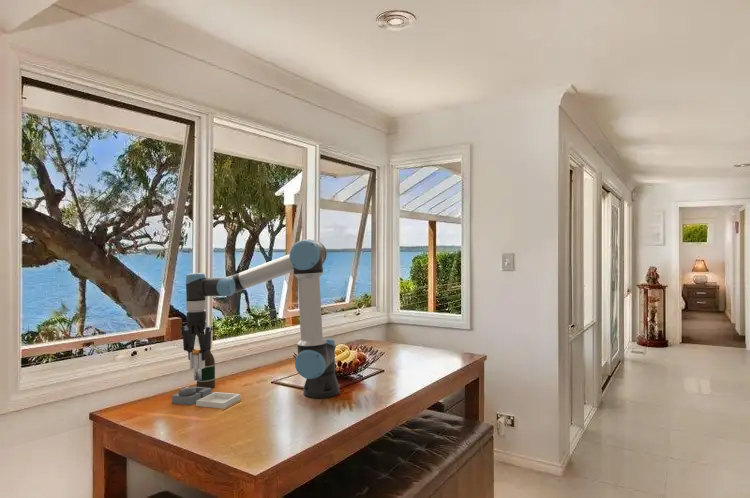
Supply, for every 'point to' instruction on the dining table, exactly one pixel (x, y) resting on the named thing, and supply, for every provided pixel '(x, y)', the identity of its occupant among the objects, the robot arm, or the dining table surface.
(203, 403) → the tray
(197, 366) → the lock pin
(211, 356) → the beer bottle
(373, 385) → the dining table surface
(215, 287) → the robot arm
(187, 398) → the block
